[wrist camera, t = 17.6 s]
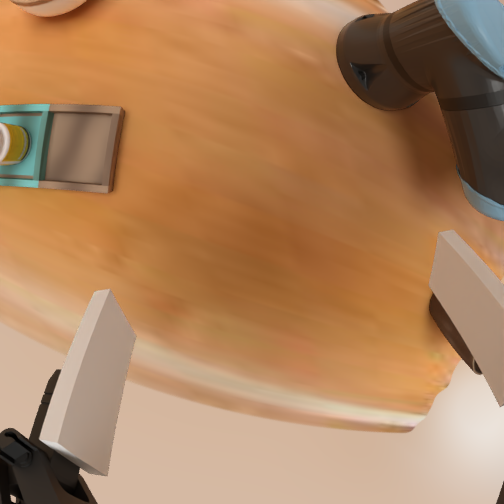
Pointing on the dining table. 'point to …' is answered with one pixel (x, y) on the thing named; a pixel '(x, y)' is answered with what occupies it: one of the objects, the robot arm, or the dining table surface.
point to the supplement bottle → (13, 144)
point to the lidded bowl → (47, 6)
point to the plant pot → (452, 334)
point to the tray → (65, 146)
